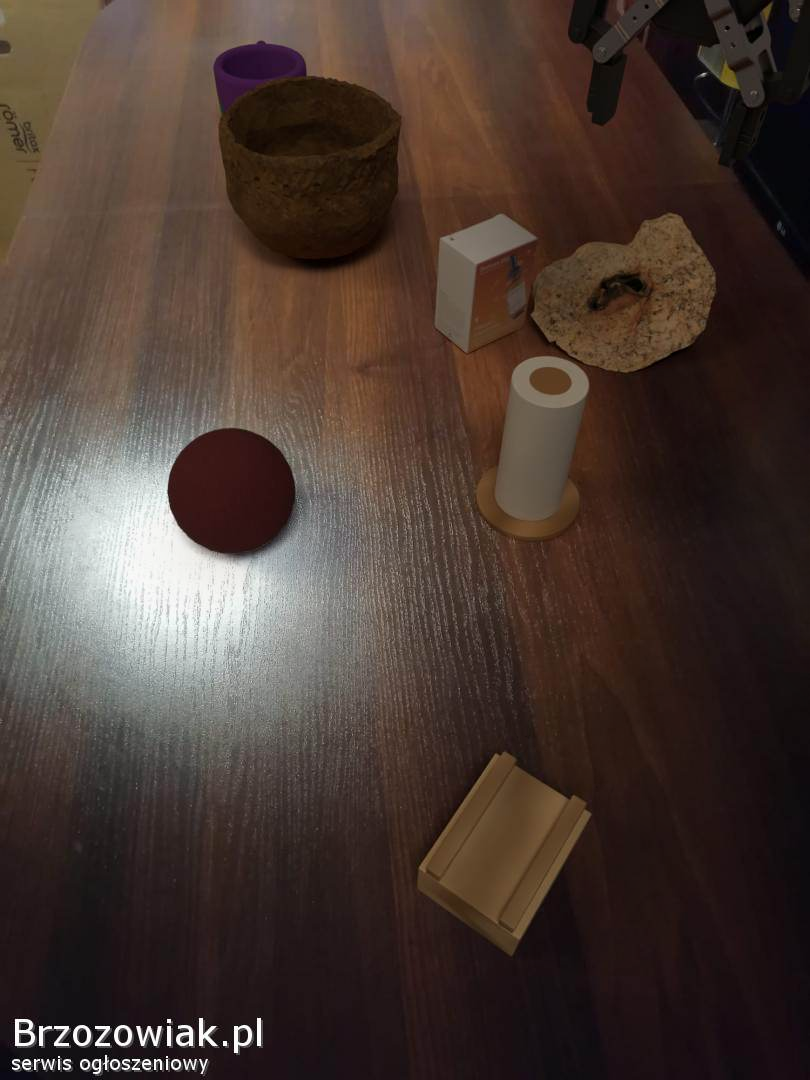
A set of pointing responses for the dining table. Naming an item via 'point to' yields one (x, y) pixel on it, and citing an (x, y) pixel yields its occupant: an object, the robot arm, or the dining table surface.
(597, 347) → the beige speckled lump
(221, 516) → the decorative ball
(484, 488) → the coaster
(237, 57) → the mug
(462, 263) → the small box
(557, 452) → the paper towel roll
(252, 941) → the dining table surface
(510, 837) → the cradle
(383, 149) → the bowl
